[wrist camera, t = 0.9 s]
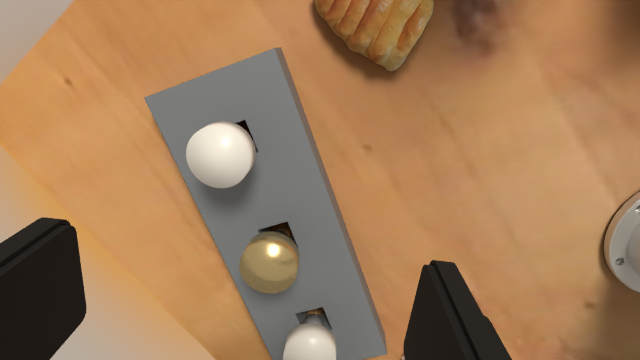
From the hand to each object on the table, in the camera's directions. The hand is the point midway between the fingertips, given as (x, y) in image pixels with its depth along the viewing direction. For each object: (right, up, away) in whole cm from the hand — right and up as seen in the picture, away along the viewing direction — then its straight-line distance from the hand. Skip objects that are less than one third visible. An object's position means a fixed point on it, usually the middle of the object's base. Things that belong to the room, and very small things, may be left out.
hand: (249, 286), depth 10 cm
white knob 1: (-5, +6, +23) cm, 24 cm away
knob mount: (-2, -2, +29) cm, 29 cm away
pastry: (+6, +16, +22) cm, 28 cm away
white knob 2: (+1, -12, +29) cm, 31 cm away
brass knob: (-2, -3, +26) cm, 26 cm away
